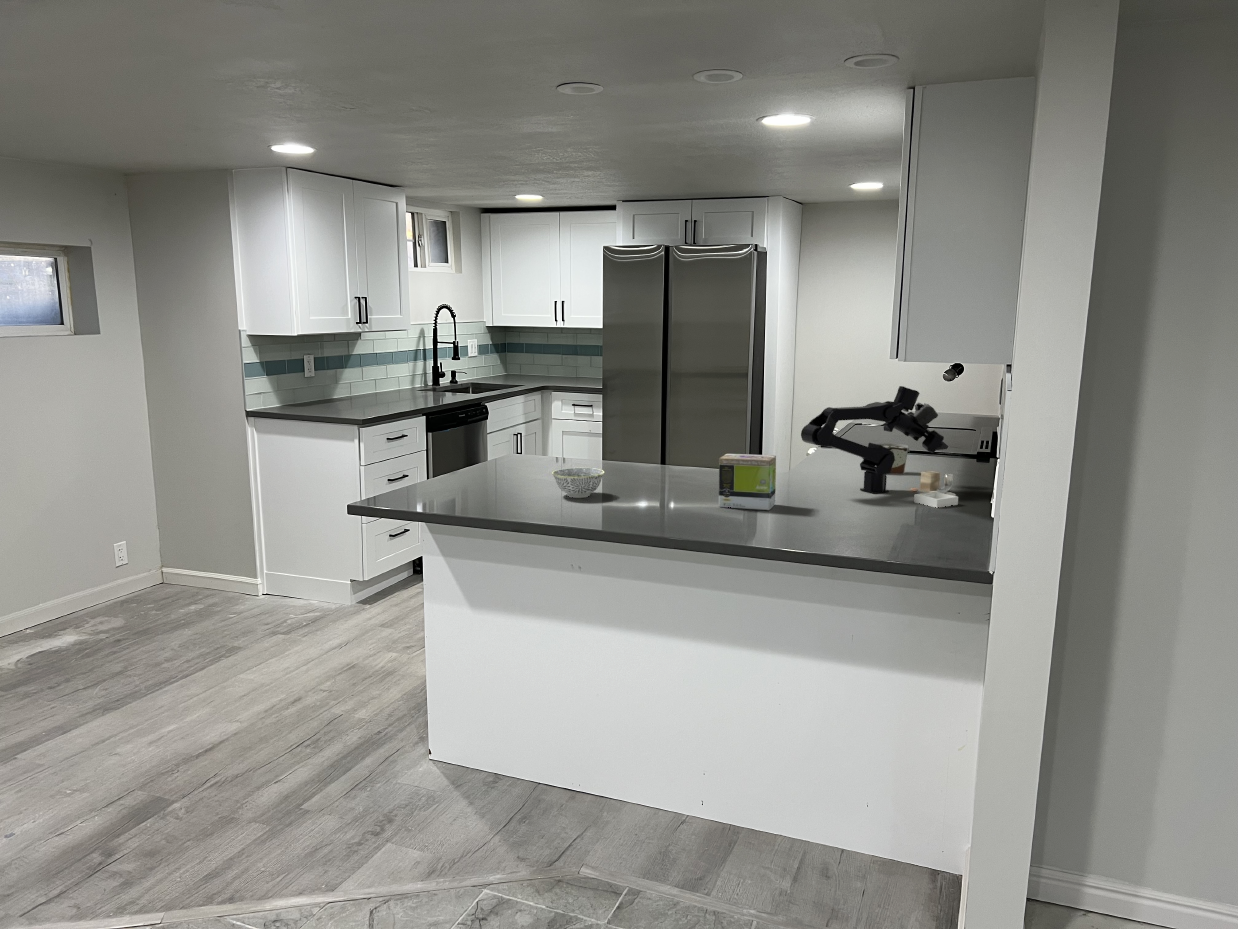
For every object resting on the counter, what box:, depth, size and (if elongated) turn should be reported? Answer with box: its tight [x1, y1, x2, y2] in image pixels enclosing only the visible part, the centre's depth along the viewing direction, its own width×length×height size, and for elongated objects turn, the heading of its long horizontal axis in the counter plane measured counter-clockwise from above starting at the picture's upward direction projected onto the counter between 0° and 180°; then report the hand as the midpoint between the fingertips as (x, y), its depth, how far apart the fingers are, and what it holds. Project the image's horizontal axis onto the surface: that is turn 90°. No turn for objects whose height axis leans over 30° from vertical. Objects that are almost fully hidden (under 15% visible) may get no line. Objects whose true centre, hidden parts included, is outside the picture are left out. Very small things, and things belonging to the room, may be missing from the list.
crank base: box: [910, 487, 957, 496], centre depth 279 cm, size 8×16×1 cm, turn 29°
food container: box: [875, 442, 910, 475], centre depth 315 cm, size 12×6×10 cm, turn 84°
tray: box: [913, 492, 959, 509], centre depth 266 cm, size 9×9×2 cm
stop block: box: [919, 470, 941, 493], centre depth 284 cm, size 4×4×6 cm
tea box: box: [718, 453, 777, 511], centre depth 262 cm, size 15×10×15 cm
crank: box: [937, 473, 954, 494], centre depth 279 cm, size 12×3×4 cm, turn 149°
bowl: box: [551, 467, 605, 499], centre depth 276 cm, size 16×16×8 cm
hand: (939, 441), depth 290 cm, fingers open, 9 cm apart
